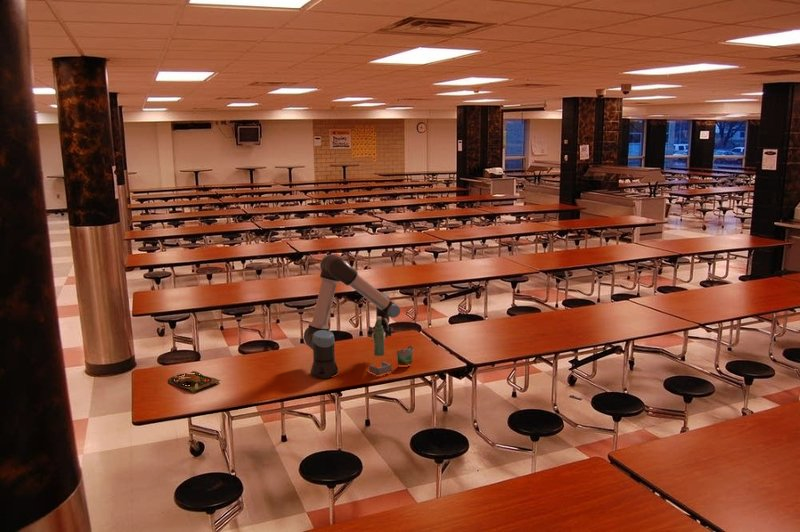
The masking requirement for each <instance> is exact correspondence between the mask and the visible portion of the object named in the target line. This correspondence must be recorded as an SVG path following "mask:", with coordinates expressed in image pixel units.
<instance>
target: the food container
mask: <svg viewBox="0 0 800 532" xmlns="http://www.w3.org/2000/svg"><path fill="white" fill-rule="evenodd" d="M413 347H414V346H411V345H408V347H406V348H402V349H401V350H396V355H397V356H396V357H397V366H398V365H408V364H411V363H412V364H413V354H414V352H415V350H414V348H413Z"/></svg>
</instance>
